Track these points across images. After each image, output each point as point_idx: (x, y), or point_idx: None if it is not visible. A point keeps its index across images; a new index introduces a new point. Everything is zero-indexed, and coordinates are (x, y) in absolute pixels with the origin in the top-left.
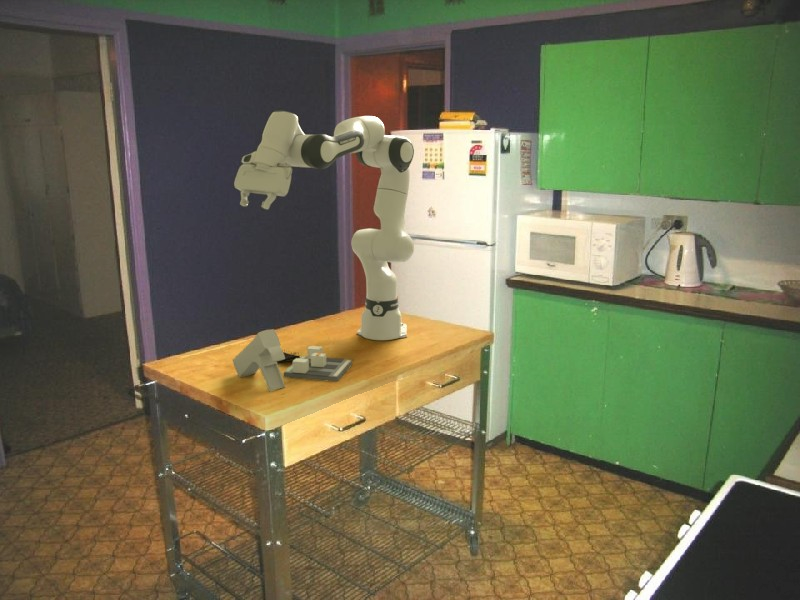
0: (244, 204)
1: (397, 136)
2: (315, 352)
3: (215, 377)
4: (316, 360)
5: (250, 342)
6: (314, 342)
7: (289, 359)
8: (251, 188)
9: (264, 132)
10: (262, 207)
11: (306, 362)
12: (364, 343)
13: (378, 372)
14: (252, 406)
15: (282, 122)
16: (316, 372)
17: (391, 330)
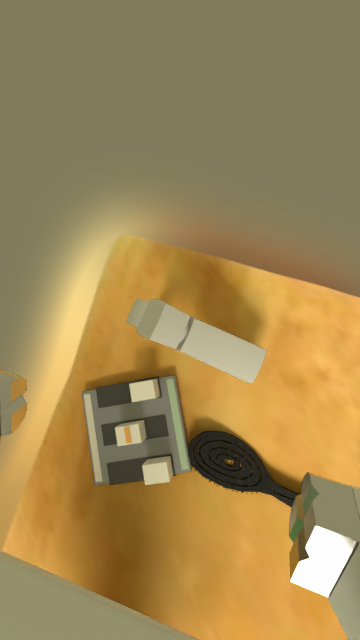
0: (303, 490)
1: None
2: (151, 462)
3: (282, 324)
4: (130, 423)
5: (201, 321)
6: (230, 592)
7: (197, 435)
8: (155, 633)
9: None
10: (14, 375)
11: (130, 390)
12: None
13: (42, 459)
14: (151, 249)
15: None
16: (121, 396)
17: None
